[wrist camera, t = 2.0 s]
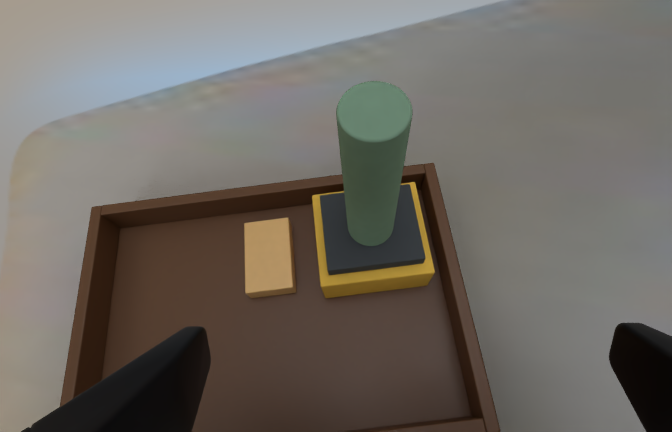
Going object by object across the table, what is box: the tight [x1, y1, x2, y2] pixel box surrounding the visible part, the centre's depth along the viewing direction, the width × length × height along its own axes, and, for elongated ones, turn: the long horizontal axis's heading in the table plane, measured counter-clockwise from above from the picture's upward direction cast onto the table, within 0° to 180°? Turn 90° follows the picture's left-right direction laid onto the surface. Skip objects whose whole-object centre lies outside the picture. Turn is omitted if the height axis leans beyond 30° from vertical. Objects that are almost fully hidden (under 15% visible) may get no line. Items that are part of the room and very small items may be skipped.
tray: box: [60, 163, 500, 432], centre depth 21 cm, size 19×13×3 cm
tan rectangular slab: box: [244, 218, 296, 298], centre depth 22 cm, size 4×2×1 cm, turn 6°
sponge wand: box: [312, 81, 435, 298], centre depth 17 cm, size 5×6×12 cm
